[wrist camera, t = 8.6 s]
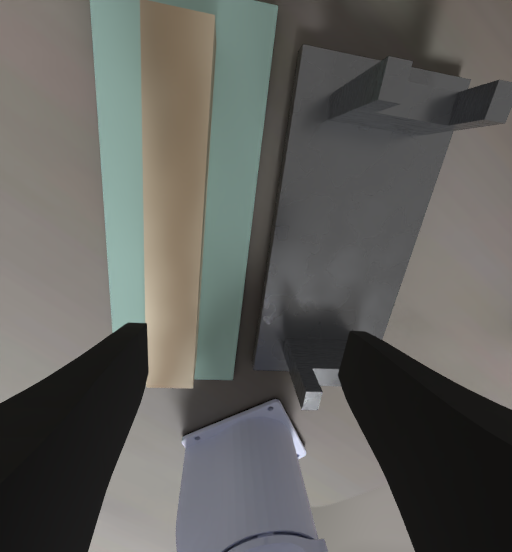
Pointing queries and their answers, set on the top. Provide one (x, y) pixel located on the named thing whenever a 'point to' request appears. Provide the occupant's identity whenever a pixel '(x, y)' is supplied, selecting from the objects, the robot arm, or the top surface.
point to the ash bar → (174, 181)
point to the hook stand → (354, 201)
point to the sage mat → (222, 162)
